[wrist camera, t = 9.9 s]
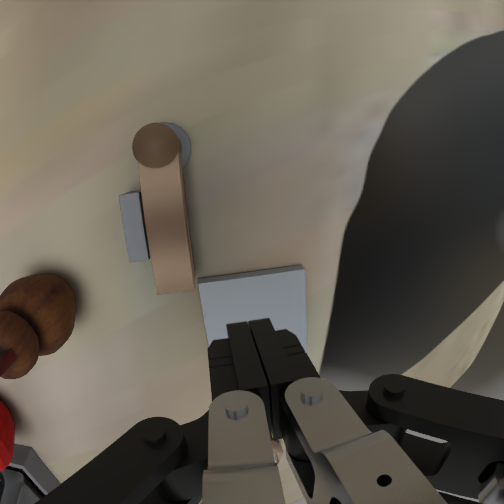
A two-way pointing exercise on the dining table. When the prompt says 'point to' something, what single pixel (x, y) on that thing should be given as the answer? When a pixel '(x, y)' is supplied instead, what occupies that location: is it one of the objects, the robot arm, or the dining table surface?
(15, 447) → the toaster tray
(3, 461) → the apple
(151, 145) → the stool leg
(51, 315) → the wooden figurine
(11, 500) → the toaster
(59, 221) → the dining table surface
